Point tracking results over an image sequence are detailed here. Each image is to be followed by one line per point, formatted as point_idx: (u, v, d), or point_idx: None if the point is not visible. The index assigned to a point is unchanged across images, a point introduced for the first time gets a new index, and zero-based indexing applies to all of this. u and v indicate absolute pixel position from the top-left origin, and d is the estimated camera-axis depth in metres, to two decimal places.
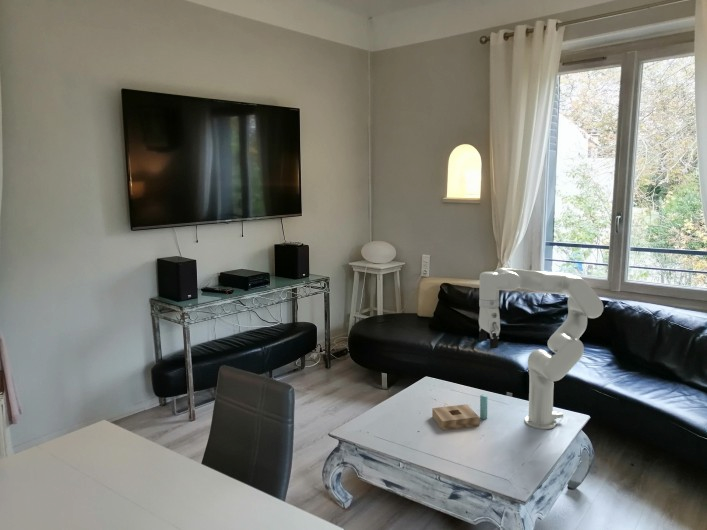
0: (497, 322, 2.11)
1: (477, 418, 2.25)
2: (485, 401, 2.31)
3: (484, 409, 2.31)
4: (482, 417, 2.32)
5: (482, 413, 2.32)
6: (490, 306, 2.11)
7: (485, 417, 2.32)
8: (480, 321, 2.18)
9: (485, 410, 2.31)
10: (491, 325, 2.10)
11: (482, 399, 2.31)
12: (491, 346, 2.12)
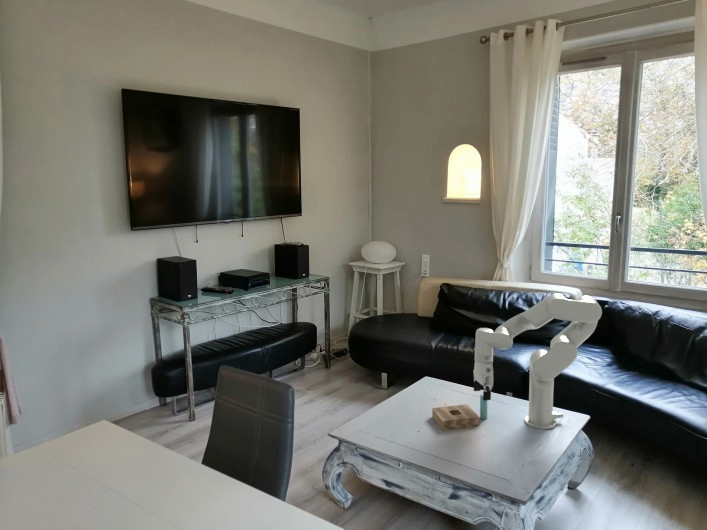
0: (491, 376, 2.25)
1: (477, 418, 2.25)
2: (485, 401, 2.31)
3: (484, 409, 2.31)
4: (482, 417, 2.32)
5: (482, 413, 2.32)
6: (485, 361, 2.25)
7: (485, 417, 2.32)
8: (475, 373, 2.33)
9: (485, 410, 2.31)
10: (485, 379, 2.25)
11: (482, 399, 2.31)
12: (484, 398, 2.27)
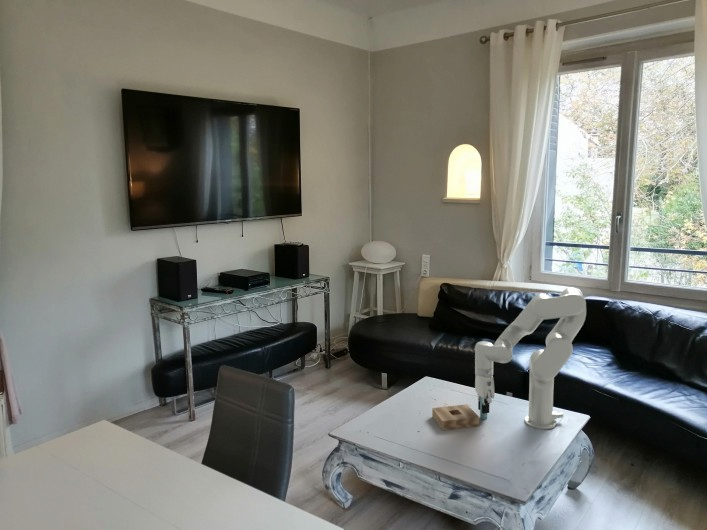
0: (492, 389, 2.26)
1: (477, 418, 2.25)
2: None
3: None
4: (482, 417, 2.32)
5: (482, 413, 2.32)
6: (485, 375, 2.26)
7: (485, 417, 2.32)
8: (476, 386, 2.33)
9: None
10: (486, 392, 2.26)
11: (482, 399, 2.31)
12: (483, 411, 2.30)
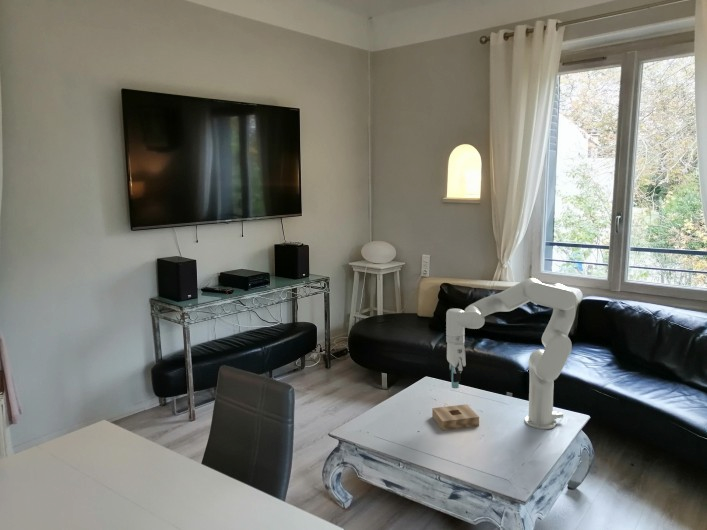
0: (462, 357, 2.21)
1: (477, 418, 2.25)
2: None
3: None
4: (453, 386, 2.27)
5: (453, 382, 2.27)
6: (456, 342, 2.21)
7: (456, 386, 2.27)
8: (447, 355, 2.29)
9: None
10: (457, 360, 2.21)
11: (453, 367, 2.26)
12: (454, 380, 2.25)
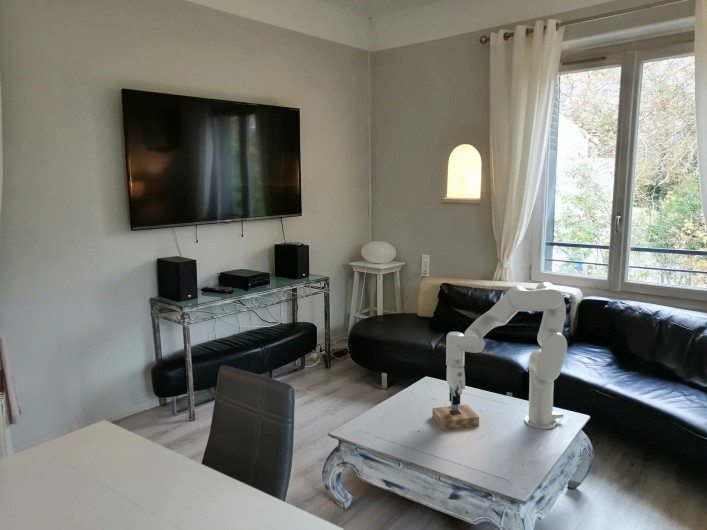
0: (462, 381, 2.23)
1: (477, 418, 2.25)
2: None
3: None
4: (453, 408, 2.29)
5: None
6: (456, 365, 2.23)
7: (456, 409, 2.29)
8: (447, 378, 2.30)
9: None
10: (456, 383, 2.23)
11: None
12: (454, 403, 2.27)
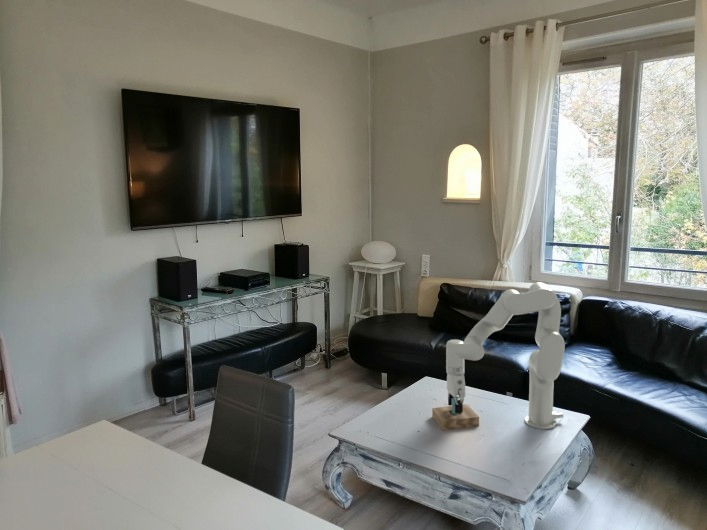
0: (462, 388, 2.24)
1: (477, 418, 2.25)
2: None
3: (456, 413, 2.29)
4: None
5: None
6: (456, 373, 2.23)
7: None
8: (447, 385, 2.31)
9: (456, 413, 2.29)
10: (457, 391, 2.23)
11: (453, 402, 2.28)
12: (456, 411, 2.26)
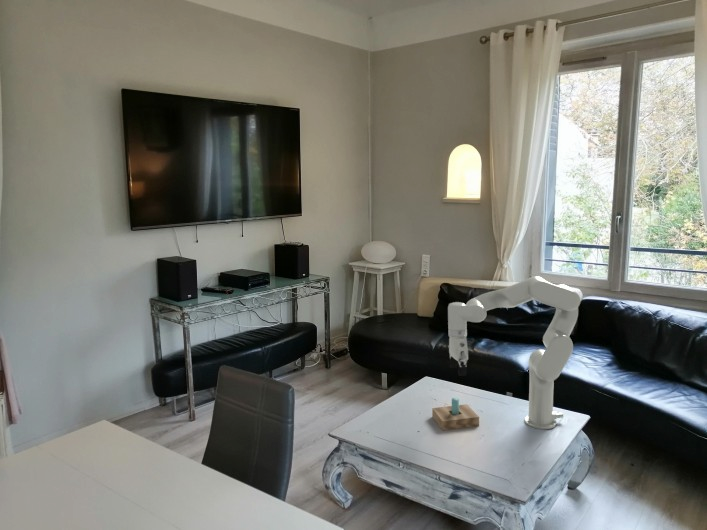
0: (465, 351, 2.21)
1: (477, 418, 2.25)
2: (456, 404, 2.28)
3: (456, 413, 2.29)
4: None
5: None
6: (458, 336, 2.21)
7: None
8: (450, 349, 2.28)
9: (456, 413, 2.29)
10: (459, 354, 2.20)
11: (453, 402, 2.28)
12: (460, 374, 2.22)
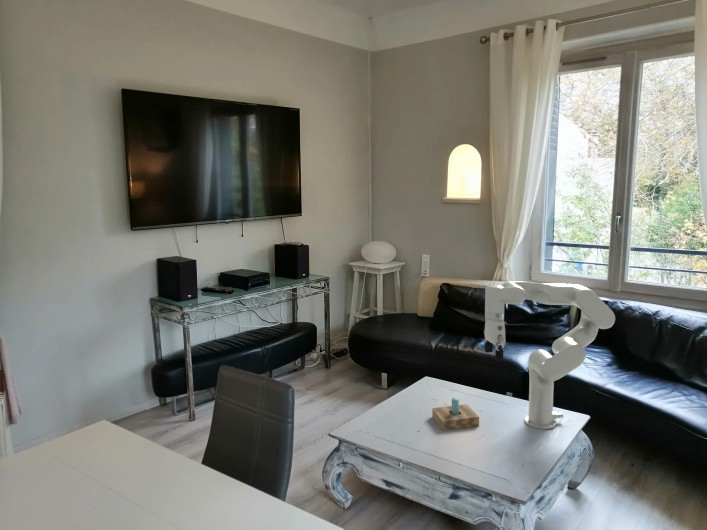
0: (502, 334, 2.15)
1: (477, 418, 2.25)
2: (456, 404, 2.28)
3: (456, 413, 2.29)
4: None
5: None
6: (496, 319, 2.15)
7: None
8: (486, 333, 2.23)
9: (456, 413, 2.29)
10: (497, 337, 2.15)
11: (453, 402, 2.28)
12: (497, 358, 2.16)
